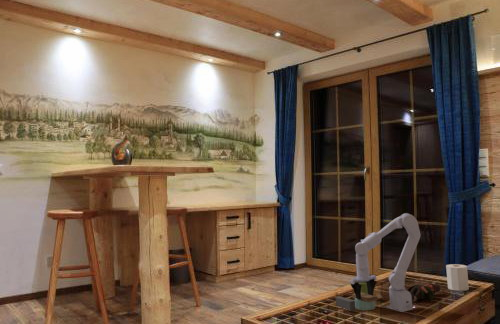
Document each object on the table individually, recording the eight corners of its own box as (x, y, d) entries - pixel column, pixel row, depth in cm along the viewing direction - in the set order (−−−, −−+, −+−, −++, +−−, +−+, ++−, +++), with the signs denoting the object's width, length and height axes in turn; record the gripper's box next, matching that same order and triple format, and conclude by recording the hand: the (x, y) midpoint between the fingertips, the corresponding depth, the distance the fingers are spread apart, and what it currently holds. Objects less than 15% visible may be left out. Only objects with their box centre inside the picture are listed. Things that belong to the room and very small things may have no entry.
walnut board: (377, 300, 190) (377, 296, 190) (368, 302, 188) (368, 298, 188) (360, 295, 200) (360, 292, 200) (352, 297, 197) (351, 294, 197)
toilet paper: (455, 291, 214) (453, 268, 215) (443, 287, 224) (441, 264, 225) (473, 290, 215) (471, 266, 216) (460, 285, 226) (459, 263, 227)
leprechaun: (394, 295, 204) (422, 281, 218) (405, 313, 200) (433, 298, 214) (409, 287, 196) (437, 273, 211) (420, 306, 192) (449, 291, 207)
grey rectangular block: (355, 310, 189) (354, 300, 190) (350, 311, 188) (349, 301, 188) (341, 305, 198) (340, 296, 198) (336, 306, 197) (335, 297, 197)
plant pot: (352, 300, 207) (351, 282, 208) (357, 295, 216) (356, 278, 216) (371, 301, 203) (370, 283, 203) (375, 296, 211) (374, 279, 212)
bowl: (379, 308, 192) (378, 299, 192) (365, 311, 187) (364, 302, 188) (365, 303, 200) (364, 295, 200) (351, 307, 195) (350, 298, 196)
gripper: (367, 265, 202) (369, 293, 201) (345, 268, 195) (347, 298, 194) (378, 267, 196) (380, 296, 195) (355, 271, 189) (357, 301, 188)
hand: (364, 297), depth 194 cm, fingers open, 7 cm apart
